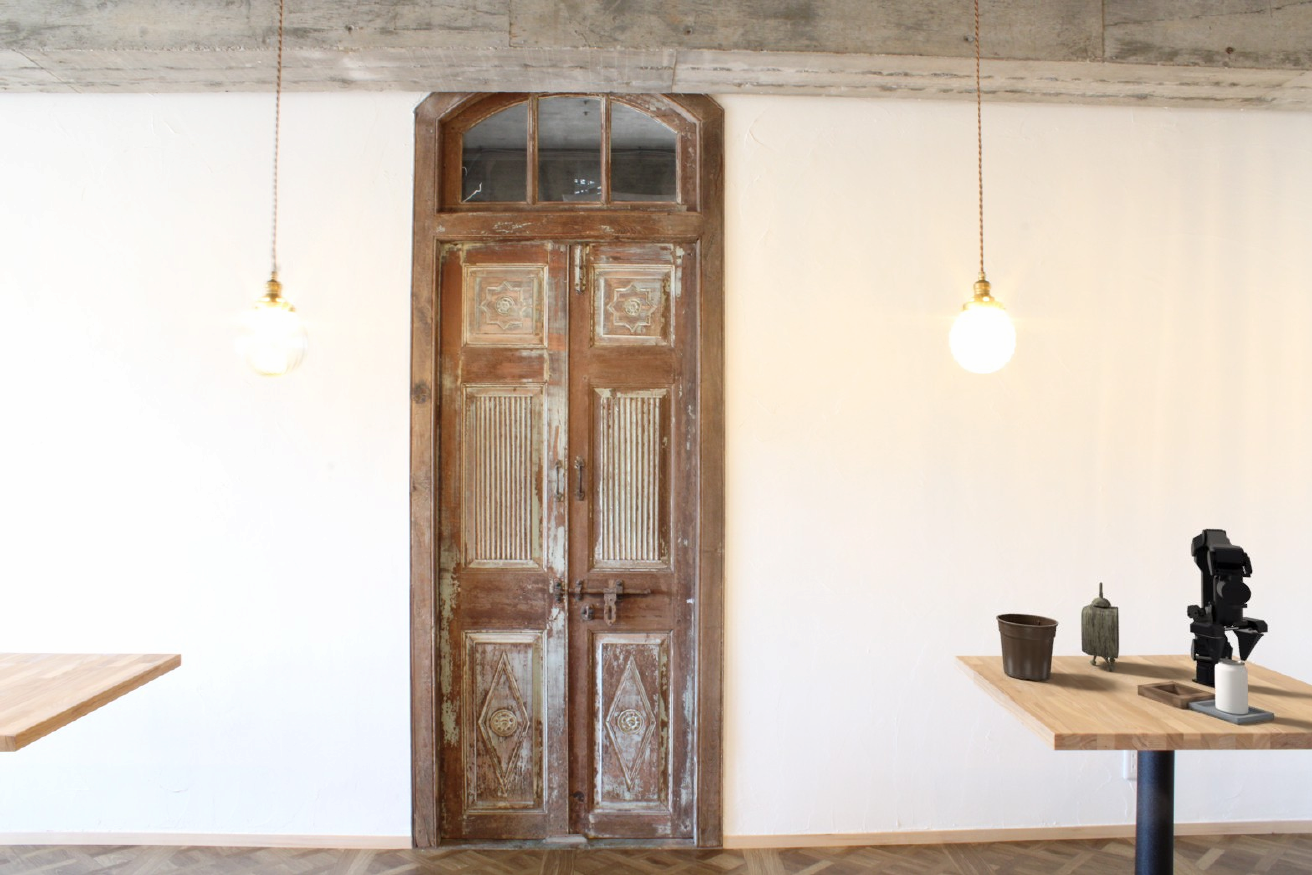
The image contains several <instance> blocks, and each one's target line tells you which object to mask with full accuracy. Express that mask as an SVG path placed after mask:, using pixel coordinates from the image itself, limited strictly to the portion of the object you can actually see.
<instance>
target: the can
mask: <svg viewBox="0 0 1312 875" xmlns="http://www.w3.org/2000/svg"><path fill="white" fill-rule="evenodd" d="M1248 679H1249V676H1248V668H1247V667H1246V663H1245V661H1242V660H1236V659H1232V660H1231V659H1220V661H1219V663H1218V664H1216V665H1215V687H1214V692H1215V693H1214V694H1215V704H1216V708H1217V710H1219V711H1221V712H1224V713H1228V714H1233V715H1246V714H1247V713H1248V705H1249V680H1248Z"/></svg>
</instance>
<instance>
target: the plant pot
mask: <svg viewBox="0 0 1312 875" xmlns="http://www.w3.org/2000/svg"><path fill="white" fill-rule="evenodd" d="M995 619H996V620H997V625H998V631H999V634H1000V645H1001V655H1002V665H1003V666H1002V667H1003V672H1004V675H1007V676H1008V677H1011V678H1014V679H1018V680H1023V681H1025V680H1028V679H1029V680H1031V681H1035V682H1037V681H1038V682H1039V681H1042V682H1043V681H1047V680H1049V679H1051V672H1052V664H1053V663H1052V661H1053V652H1054V643H1055V642H1054V641H1055V638H1056V633H1057V627H1058V625H1059V621H1057V620H1056V619H1054V618H1050V617H1046V616H1041V615H1036V614H1027V613H1026V614H1025V613H1002V614H997V615H996V616H995Z"/></svg>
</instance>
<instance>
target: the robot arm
mask: <svg viewBox="0 0 1312 875" xmlns="http://www.w3.org/2000/svg"><path fill="white" fill-rule="evenodd" d="M1190 555H1191V557H1193V562H1194V564H1195V565H1196V566H1197V568H1198V569H1199V570H1200V594H1201V595H1200V602H1201V603H1200V604H1201V606H1200V605H1199V604H1190V605H1187V606H1186V608H1187V609H1186V613H1187V614H1186V615H1187V617H1188V618H1189V619H1192V622H1190V624H1189V632H1190V633H1191V634H1193V635H1194V638H1192V639H1191V645H1190V658H1191V659H1192V661H1193V662H1196V666H1195V674H1196V675H1195V676H1196V677H1195V678H1191V682H1194V683H1197V684H1202V685H1203V686H1204V685H1205V686H1208V687H1211V688H1215V665H1216V664H1218V663H1219V661H1220V659H1231V660H1233V652H1234V647H1233V646H1232V645H1231V642H1230V641H1229V638H1228V636H1227V634H1226V632H1230V631H1231V632H1232V633H1233V634H1234V635H1235V636H1236V637H1237V645H1238V654H1239V655H1238V656H1239V659H1240V660H1239V661H1241V662H1247V660H1248V658H1249V657H1250V655H1251V653H1252V652H1253V650H1254V648H1255V647H1256V645H1257V644H1258V643H1259V641H1260V640H1261V639H1262V637H1265V633H1269V628H1268V627H1269V625H1268V623H1267V622H1266V621H1265V620H1264V619H1258V618H1253V617H1249V616H1244V609H1248V602H1249V601H1250V600H1251V598H1252V591H1251V589H1250V586H1248V584H1247V583H1245V582H1244V578H1248V579H1250V578H1252V574H1253V573H1254V572H1253V566H1252V562H1251V558H1250V556H1249V555H1248V552H1245V550H1244V548H1242V547H1241V546H1240V545H1235V544H1233V543H1231V541H1230V538H1229V537H1228V536H1227V530H1225V529H1221V528H1204V529H1202V530H1201V533H1200V534H1198V535H1196V536H1194V537H1193V538H1192V540H1191V543H1190Z"/></svg>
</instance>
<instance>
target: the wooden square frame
mask: <svg viewBox="0 0 1312 875" xmlns="http://www.w3.org/2000/svg"><path fill="white" fill-rule="evenodd" d="M1137 696H1141V697H1143V698H1147V699H1149V700H1153V701H1156V702H1158V703H1162V704H1165V705H1168V706H1171V707H1173V708H1177V709H1180V710H1183V709H1184V710H1185V709H1189V703H1190V702H1198V701H1206V700H1213V699H1215V693H1213V692H1210V691H1206V690H1203V689H1199V688H1197V687H1193V686H1189V685H1186V684H1182V683H1179V682H1177V681H1173V680H1170V681H1160V682H1154V683H1153V682H1152V683H1144V684H1137Z"/></svg>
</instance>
